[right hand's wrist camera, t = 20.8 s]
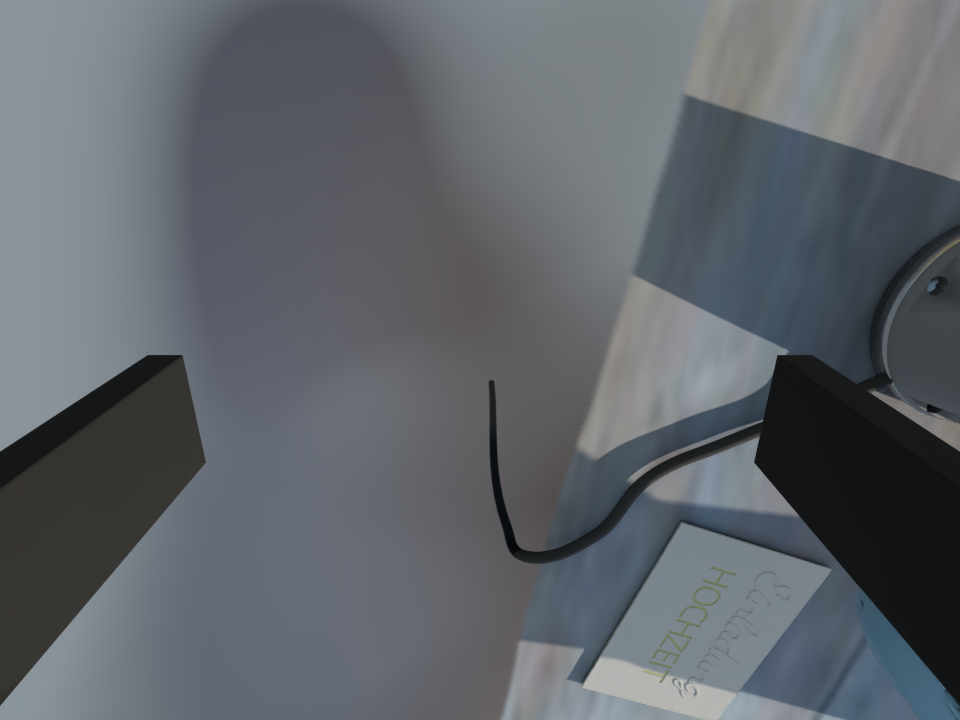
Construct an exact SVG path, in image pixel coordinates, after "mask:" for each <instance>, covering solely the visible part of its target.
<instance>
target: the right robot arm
mask: <svg viewBox="0 0 960 720" xmlns="http://www.w3.org/2000/svg"><path fill="white" fill-rule="evenodd" d="M871 355H872V360H873V364H874V367H875V370H876V373H877V374H878V375H877V376H875V377H872V378H870V379H868V380H865V381H863V382H861V383H858V384H855V383H854V382H852V381H851V380H849V379H848V378H846V377H845V376H843V375H842V374H840V373H839V372H837V371H836V370H834V369H833V368H831V367H829V366H828V365H826V364H825V363H823V362H822V361H820V360H819V359H817V358H816V357H814V356H813V355H777V360H776V364H775V369H774V374H773V378H772V383H771V388H770V392H769V397H768V401H767V406H766V411H765V415H764V420H763V422H761V423H758V424H756V425H753V426H751V427H748V428H746V429H743V430H741V431H738V432H736V433H733V434H731V435H729V436H726V437H724V438H721V439H719V440H716V441H714V442H711V443H709V444H706V445H703V446H700V447H698V448H695V449H692V450H690V451H687V452H684V453H682V454H679V455H677V456H675V457H672V458H670V459H668V460H666V461H664V462H662V463H661V464H659V465H657V466H655V467H654V468H652V469H651V470H649V471H648V472H646V473H645V474H644V475H642V476H641V477H640V478H638V479H637V480H636V481H635V482H634V483H633V484H632V485H631V486H630V487H629V489H628V490H627V491H626V492H625V493H624V495H623V496H622V498H621V499H620V500H619V502H618V503H617V505H616V506H615V508H614V509H613V510H612V512H611V513H610V514H609V516H608V517H607V518H606V519H605V520H604V521H603V522H602V523H601V524H600V525H599V526H598V527H596V528H595V529H593V530H592V531H590V532H589V533H587V534H586V535H584V536H582V537H580V538H579V539H577V540H575V541H573V542H571V543H569V544H567V545H564V546H562V547H559V548H556V549H553V550H549V551H543V552H531V551H526V550H523V549H521V548H520V547H519V546H518V545H517V543H516V539H515V535H514V531H513V528H512V525H511V522H510V519H509V516H508V513H507V510H506V506H505V502H504V498H503V494H502V488H501V483H500V475H499V467H498V453H497V420H496V394H495V383H494V381H493V380H490V381H489V383H488V384H489V410H490V411H489V412H490V414H489V446H490V470H491V479H492V487H493V493H494V499H495V503H496V507H497V512H498V515H499V518H500V522H501V525H502V528H503V532H504V536H505V541H506V544H507V547H508V549H509V552H510V553H511V554H512V555H513V556H514V557H515V558H517V559H519V560H521V561H523V562H528V563H536V564H541V563H549V562H554V561H558V560H561V559H564V558H566V557H569V556H571V555H573V554H576V553H578V552H580V551H581V550H583V549H585V548H587V547H589V546H590V545H592V544H594V543H595V542H597V541H598V540H600V539H601V538H603V537H604V536H605V535H607V534H608V533H609V532H610V531H611V530H612V529H613V528H614V527H615V526H616V525H617V524H618V522H619V521H620V520H621V519H622V517H623V516H624V514H625V513H626V512H627V510H628V509H629V507H630V506H631V505H632V503H633V502H634V501H635V499H636V498H637V497H638V496H639V495H640V494H641V493H642V492H643V491H644V490H645V489H646V488H647V487H648V486H650V485H651V484H652V483H654V482H655V481H657V480H658V479H660V478H661V477H663V476H665V475H666V474H668V473H670V472H672V471H674V470H676V469H678V468H681V467H683V466H685V465H688V464H690V463H693V462H696V461H698V460H701V459H704V458H707V457H709V456H712V455H715V454H717V453H720V452H723V451H725V450H728V449H730V448H733V447H735V446H737V445H740V444H742V443H745V442H747V441H750V440H752V439H755V438H757V437H760V438H759V443H758V447H757V452H756V457H755V461H754V463H755V464H756V465H757V466H758V468H759V469H760V470H761V471H762V472H763V473H764V475H765V476H766V477H767V478H768V479H769V481H770V482H771V483H772V484H773V485H774V486H775V488H776V489H777V490H778V491H779V492H780V494H781V495H782V496H783V497H784V498H785V499H786V501H787V502H788V503H789V504H790V505H791V507H792V508H793V509H794V510H795V511H796V512H797V514H798V515H799V516H800V517H801V518H802V520H803V521H804V522H805V523H806V524H807V525H808V527H809V528H810V529H811V530H812V531H813V533H814V534H815V535H816V536H817V537H818V538H819V540H820V541H821V542H822V543H823V544H824V546H825V547H826V548H827V549H828V550H829V551H830V553H831V554H832V555H833V556H834V557H835V559H836V560H837V561H838V562H839V563H840V565H841V566H842V567H843V568H844V569H845V570H846V572H847V573H848V574H849V575H850V576H851V578H852V579H853V580H854V581H855V582H856V583H857V585H858V586H859V587H860V588H859V590H858V593H857V598H856V606H857V614H858V617H859V620H860V624H861V628H862V631H863V633H864V635H865V638H866V640H867V642H868V644H869V646H870V648H871V650H872V652H873V653H874V655H875V657H876V659H877V660H878V662H879V663H880V665H881V667H882V668H883V670H884V671H885V673H886V674H887V676H888V677H889V679H890V680H891V682H892V683H893V685H894V686H895V687H896V689H897V690H898V692H899V693H900V694H901V696H902V697H903V698H904V700H905V701H906V702H907V703H908V705H909V706H910V707H911V709H912V710H913V711H914V712H915V714H916V715H917V716H918V717H919V718H920V720H960V451H958V450H956V449H955V448H953V447H952V446H950V445H949V444H947V443H946V442H944V441H943V440H941V439H940V438H938V437H937V436H935V435H934V434H932V433H930V432H929V431H927V430H926V429H924V428H923V427H921V426H920V425H918V424H917V423H915V422H914V421H912V420H911V419H909V418H908V417H906V416H904V415H903V414H901V413H900V412H898V411H897V410H895V409H894V408H892V407H891V406H889V405H888V404H886V403H885V402H883V401H881V400H880V399H878V398H877V397H875V396H874V395H872V394H871V392H874V391H876V390H879V389H881V388H883V387H886V388H887V389H888V390H889V391H890V392H891V393H892V394H893V395H894V396H896V397H897V398H899V399H900V400H902V401H903V402H905V403H906V404H908V405H910V406H911V407H913V408H914V409H916V410H918V411H920V412H922V413H924V414H926V415H928V416H931V417H934V418H938V419H942V420H946V421H950V422H955V423H960V226H958V227H956V228H954V229H952V230H950V231H949V232H947V233H945V234H943V235H942V236H940V237H938V238H937V239H935V240H934V241H933V242H931V243H930V244H928V245H927V246H926V247H925V248H923V249H922V250H921V251H920V252H919V253H917V254H916V255H915V256H914V257H913V258H912V259H911V260H910V261H909V262H908V263H907V264H906V265H905V266H904V268H903V269H902V270H901V271H900V272H899V274H898V275H897V276H896V277H895V279H894V280H893V282H892V283H891V285H890V286H889V288H888V289H887V291H886V293H885V295H884V296H883V298H882V300H881V303H880V305H879V307H878V309H877V312H876V315H875V318H874V323H873V327H872V333H871ZM205 463H206V461H205V457H204V452H203V447H202V443H201V438H200V434H199V429H198V424H197V420H196V415H195V411H194V406H193V401H192V397H191V392H190V388H189V383H188V378H187V374H186V369H185V365H184V360H183V356H182V355H147V356H146V357H144V358H143V359H141V360H140V361H138V362H137V363H135V364H134V365H132V366H131V367H129V368H127V369H126V370H124V371H123V372H121V373H120V374H118V375H117V376H115V377H114V378H112V379H111V380H109V381H108V382H106V383H105V384H103V385H102V386H100V387H98V388H97V389H95V390H94V391H92V392H91V393H89V394H88V395H86V396H85V397H83V398H82V399H80V400H79V401H77V402H75V403H74V404H72V405H71V406H69V407H68V408H66V409H65V410H63V411H62V412H60V413H59V414H57V415H56V416H54V417H52V418H51V419H50V420H48V421H46V422H45V423H43V424H42V425H40V426H39V427H37V428H36V429H34V430H33V431H31V432H30V433H28V434H27V435H25V436H23V437H22V438H20V439H19V440H17V441H16V442H14V443H13V444H11V445H10V446H8V447H7V448H5V449H4V450H2V451H0V705H1V704H2V703H3V702H4V701H5V699H6V698H7V697H8V696H9V695H10V693H11V692H12V691H13V690H14V689H15V688H16V686H17V685H18V684H19V683H20V682H21V680H22V679H23V678H24V677H25V676H26V674H27V673H28V672H29V671H30V670H31V669H32V667H33V666H34V665H35V664H36V663H37V661H38V660H39V659H40V658H41V657H42V656H43V654H44V653H45V652H46V651H47V650H48V648H49V647H50V646H51V645H52V644H53V643H54V641H55V640H56V639H57V638H58V637H59V635H60V634H61V633H62V632H63V631H64V629H65V628H66V627H67V626H68V625H69V624H70V622H71V621H72V620H73V619H74V618H75V617H76V615H77V614H78V613H79V612H80V611H81V609H82V608H83V607H84V606H85V605H86V604H87V602H88V601H89V600H90V599H91V598H92V596H93V595H94V594H95V593H96V592H97V590H98V589H99V588H100V587H101V586H102V585H103V583H104V582H105V581H106V580H107V579H108V578H109V576H110V575H111V574H112V573H113V572H114V570H115V569H116V568H117V567H118V566H119V564H120V563H121V562H122V561H123V560H124V559H125V557H126V556H127V555H128V554H129V553H130V551H131V550H132V549H133V548H134V547H135V545H136V544H137V543H138V542H139V541H140V540H141V538H142V537H143V536H144V535H145V534H146V533H147V531H148V530H149V529H150V528H151V527H152V525H153V524H154V523H155V522H156V521H157V520H158V518H159V517H160V516H161V515H162V514H163V512H164V511H165V510H166V509H167V508H168V507H169V505H170V504H171V503H172V502H173V501H174V499H175V498H176V497H177V496H178V495H179V493H180V492H181V491H182V490H183V489H184V488H185V486H186V485H187V484H188V483H189V482H190V480H191V479H192V478H193V477H194V476H195V475H196V473H197V472H198V471H199V470H200V469H201V467H202V466H203V465H204V464H205Z"/></svg>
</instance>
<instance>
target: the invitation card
mask: <svg viewBox="0 0 960 720" xmlns="http://www.w3.org/2000/svg"><path fill="white" fill-rule="evenodd" d="M831 571H832V569H831V568H828V567H825V566H822V565H819V564H815V563H812V562H809V561H806V560H803V559H799V558H796V557H793V556H790V555H787V554H783V553H780V552H777V551H774V550H771V549H767V548H764V547H761V546H758V545H754V544H751V543H748V542H745V541H742V540H738V539H735V538H732V537H729V536H726V535H722V534H719V533H716V532H713V531H710V530H706V529H703V528H700V527H697V526H694V525H690V524H687V523H684V522H681V523H680V525H679V526H678V528H677V530H676V531H675V533H674V535H673V536H672V538H671V540H670V541H669V543H668V544H667V546H666V548H665V549H664V551H663V553H662V554H661V556H660V558H659V559H658V561H657V562H656V564H655V566H654V567H653V569H652V571H651V572H650V574H649V576H648V577H647V579H646V581H645V582H644V584H643V585H642V587H641V589H640V590H639V592H638V594H637V595H636V597H635V599H634V600H633V602H632V603H631V605H630V607H629V608H628V610H627V612H626V613H625V615H624V617H623V618H622V620H621V621H620V623H619V625H618V626H617V628H616V630H615V631H614V633H613V635H612V636H611V638H610V639H609V641H608V643H607V644H606V646H605V648H604V649H603V651H602V653H601V654H600V656H599V658H598V659H597V661H596V662H595V664H594V666H593V667H592V669H591V671H590V672H589V674H588V676H587V677H586V679H585V680H584V682H583V684H582V685H581V686H582V688H586V689H590V690H593V691H597V692H601V693H605V694H609V695H613V696H616V697H620V698H624V699H628V700H632V701H635V702H639V703H643V704H647V705H651V706H654V707H658V708H662V709H666V710H670V711H674V712H677V713H681V714H685V715H689V716H693V717H696V718H700V719H704V720H717V719H718V718H719V717H720V716H721V714H722V713H723V712H724V710H725V709H726V708H727V706H728V705H729V704H730V702H731V701H732V700H733V699H734V697H735V696H736V695H737V693H738V692H739V691H740V689H741V688H742V687H743V686H744V684H745V683H746V682H747V680H748V679H749V678H750V676H751V675H752V674H753V672H754V671H755V670H756V669H757V667H758V666H759V665H760V663H761V662H762V661H763V659H764V658H765V657H766V656H767V654H768V653H769V652H770V650H771V649H772V648H773V646H774V645H775V644H776V642H777V641H778V640H779V639H780V637H781V636H782V635H783V633H784V632H785V631H786V629H787V628H788V627H789V626H790V624H791V623H792V622H793V620H794V619H795V618H796V616H797V615H798V614H799V612H800V611H801V610H802V609H803V607H804V606H805V605H806V603H807V602H808V601H809V599H810V598H811V597H812V595H813V594H814V593H815V592H816V590H817V589H818V588H819V586H820V585H821V584H822V582H823V581H824V580H825V579H826V577H827V576H828V575H829V573H830V572H831Z"/></svg>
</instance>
